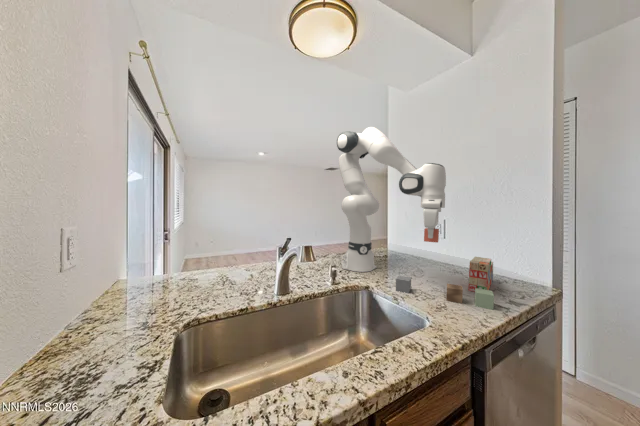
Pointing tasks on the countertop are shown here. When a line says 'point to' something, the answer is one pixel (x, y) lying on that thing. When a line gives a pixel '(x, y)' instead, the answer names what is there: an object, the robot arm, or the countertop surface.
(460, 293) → the walnut cube
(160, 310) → the countertop surface
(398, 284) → the charcoal cube
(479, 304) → the sage cube
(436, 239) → the red cube
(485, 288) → the cardboard box
